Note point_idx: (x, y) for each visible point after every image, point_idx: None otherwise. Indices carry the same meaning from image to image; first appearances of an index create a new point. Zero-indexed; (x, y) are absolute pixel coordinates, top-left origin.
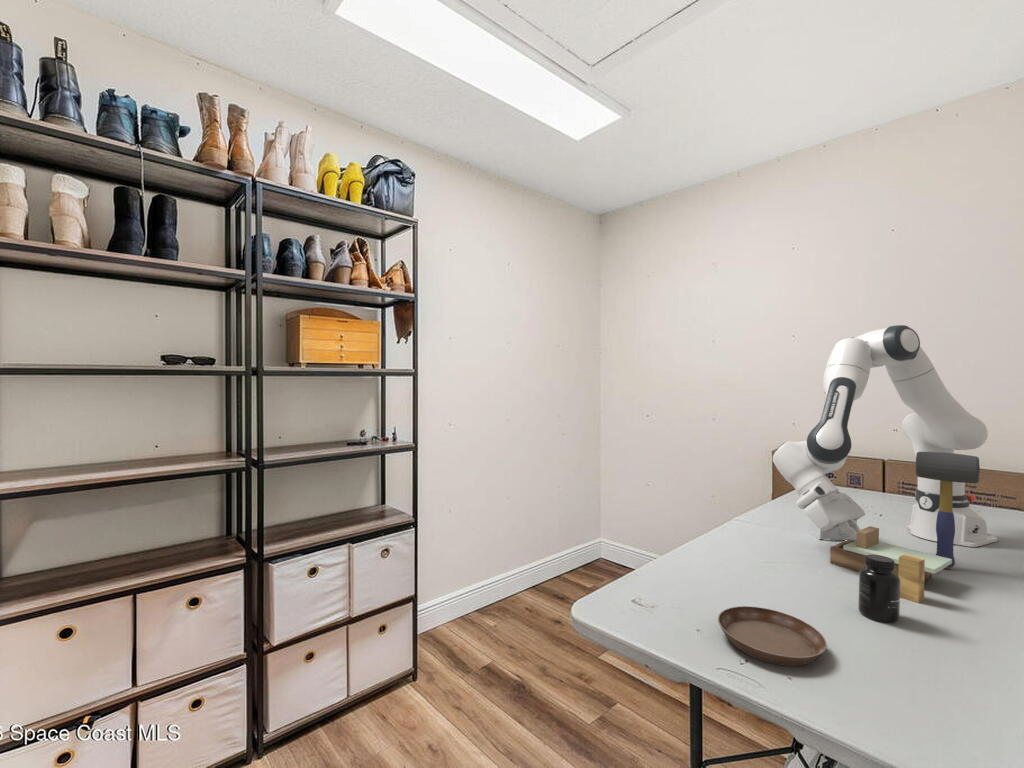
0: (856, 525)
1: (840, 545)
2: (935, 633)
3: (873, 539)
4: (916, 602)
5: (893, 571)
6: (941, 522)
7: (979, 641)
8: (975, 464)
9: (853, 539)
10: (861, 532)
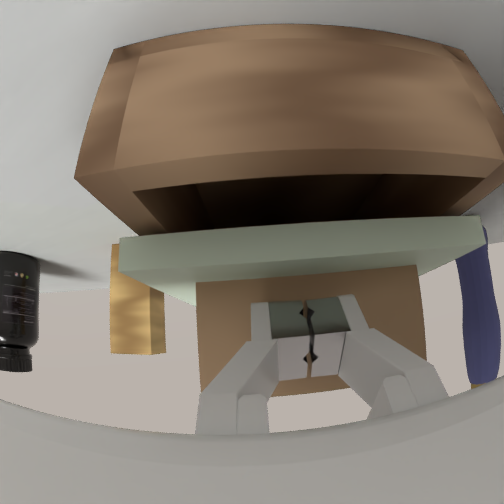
0: (370, 404)
1: (236, 178)
2: (64, 275)
3: None
4: None
5: None
6: (471, 355)
7: (104, 282)
8: None
9: (252, 308)
10: None
